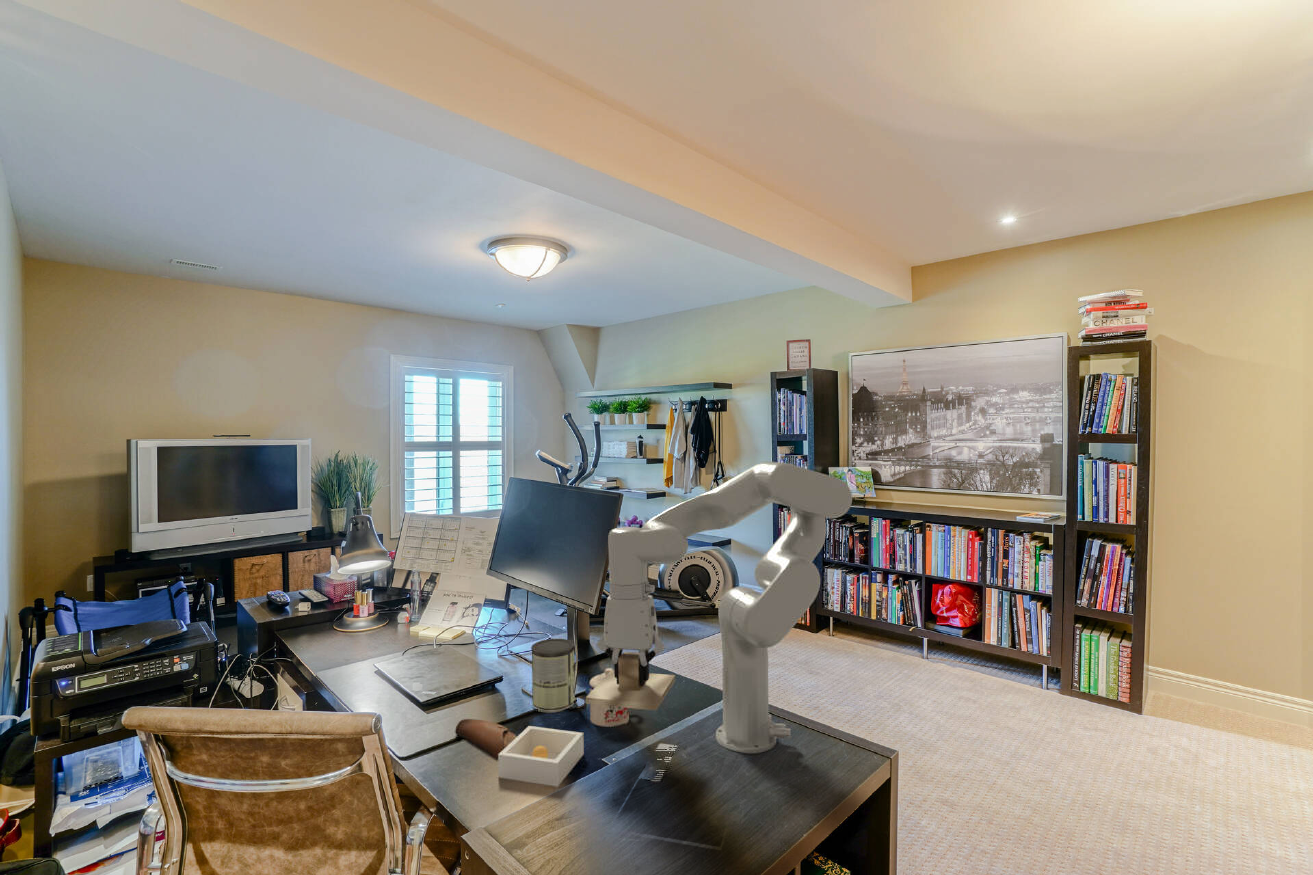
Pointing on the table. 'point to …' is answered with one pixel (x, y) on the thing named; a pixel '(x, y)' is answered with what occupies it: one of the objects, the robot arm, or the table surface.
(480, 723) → the sunglasses case
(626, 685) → the lid
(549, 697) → the coffee can
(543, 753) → the ball
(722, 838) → the table surface
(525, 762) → the dish
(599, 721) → the teacup with lid
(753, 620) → the robot arm
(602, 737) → the table surface
